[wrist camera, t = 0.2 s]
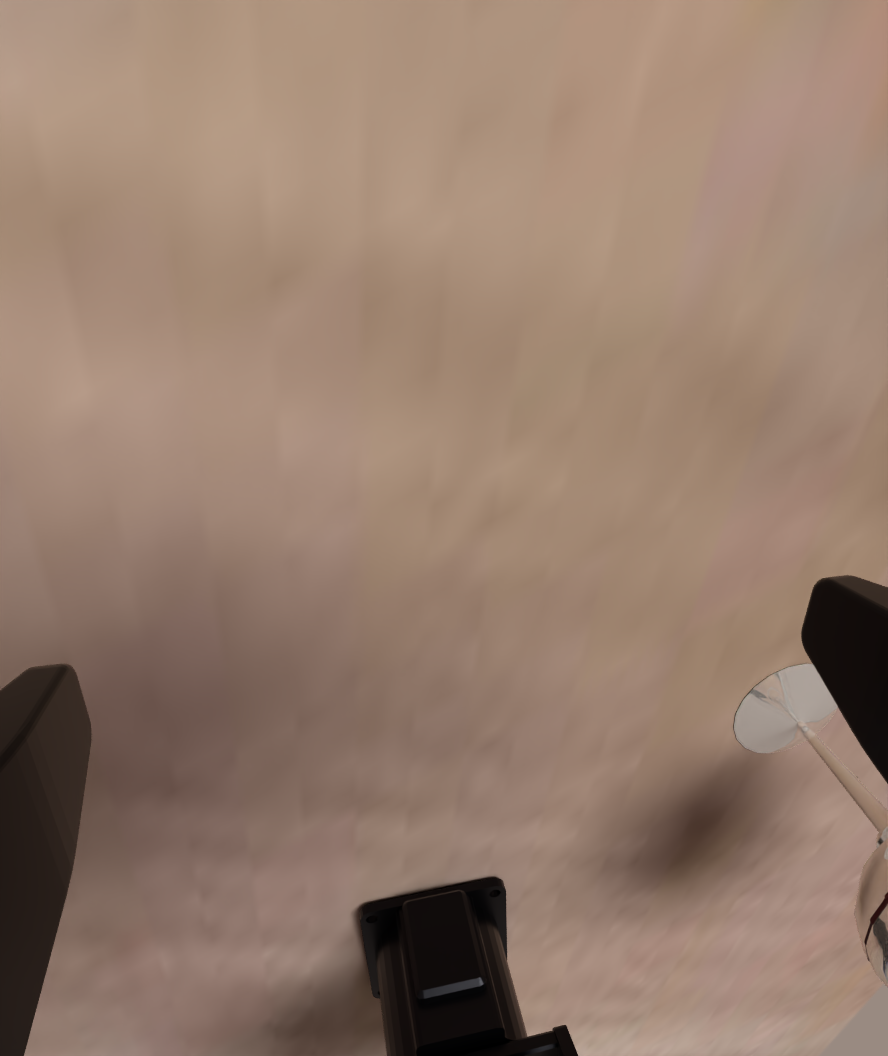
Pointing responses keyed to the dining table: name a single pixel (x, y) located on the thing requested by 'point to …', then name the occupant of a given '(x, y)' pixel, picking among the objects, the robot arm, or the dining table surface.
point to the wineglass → (796, 717)
